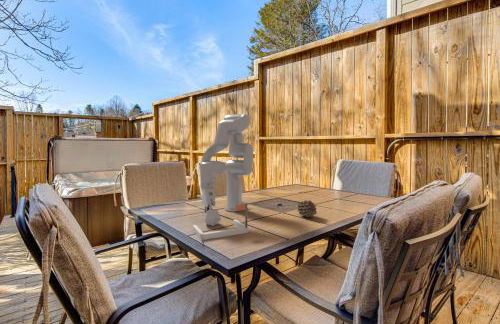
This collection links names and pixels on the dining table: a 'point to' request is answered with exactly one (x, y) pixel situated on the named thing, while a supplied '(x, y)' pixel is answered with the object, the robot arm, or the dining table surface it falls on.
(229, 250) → the dining table surface
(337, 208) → the dining table surface
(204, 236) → the white stand base
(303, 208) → the pine cone
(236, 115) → the robot arm
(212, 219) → the die
